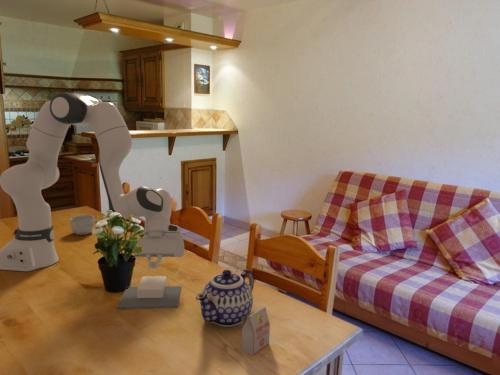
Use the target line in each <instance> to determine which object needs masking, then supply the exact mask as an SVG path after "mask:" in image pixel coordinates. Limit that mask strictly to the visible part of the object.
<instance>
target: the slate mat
mask: <svg viewBox="0 0 500 375" xmlns="http://www.w3.org/2000/svg"><path fill="white" fill-rule="evenodd" d="M128 287H129V288H128V289H126V288H125V290H124V293H123V294H122V297H121V298H120V300H119V302H118V304H117V306H116V309H117V310H129V309H130V310H132V309H140V310H141V309H178V305H179V301H180V295H181V290H182V286H181V285H173V286H172V285H171V286H170V285H169V286H168V285H166V289H165V292H164V296H163V298H137V288H138V286H128Z"/></svg>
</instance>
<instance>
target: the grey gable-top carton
mask: <svg viewBox="0 0 500 375" xmlns="http://www.w3.org/2000/svg"><path fill="white" fill-rule="evenodd" d="M270 327H271V323H270V319H269V316H268V312H267V308H266V306H263V307H261V308H259V309H258V310H256V311H255V312H253V313H250V314H249V315H248V316H247V317H246V319H245V323H244V325H243V326H242V330H241V351H242V352H244V353H247V354H248V355H250V356H252V357H254V356H255V355H257V353H260V352H261V351H262V350H263V349H265V348H266V347H268V346H269V345H270V333H271V332H270V330H271V328H270Z"/></svg>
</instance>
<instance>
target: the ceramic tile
mask: <svg viewBox="0 0 500 375" xmlns="http://www.w3.org/2000/svg"><path fill="white" fill-rule="evenodd" d="M167 284H168V282H167V275H159V276H158V275H156V276H155V275H153V276H151V275H149V276H145V275H144V276H142V277H141V279H140V280H139V283H138V286H137V287H138V288H137V298H163V296H164V292H165V289H166V286H168V285H167Z"/></svg>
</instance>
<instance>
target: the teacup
mask: <svg viewBox="0 0 500 375" xmlns="http://www.w3.org/2000/svg"><path fill="white" fill-rule="evenodd" d="M69 222H70V227H71V232H73V234H75V235H78V236H83V235H89V234H91V233H92V232H93V231H92V228H93V226H94V224H96V223H95V216H94V215H93V214H88V213H84V214H78V215H74V216H73V217H71V218H70V219H69ZM91 231H92V232H91Z"/></svg>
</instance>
